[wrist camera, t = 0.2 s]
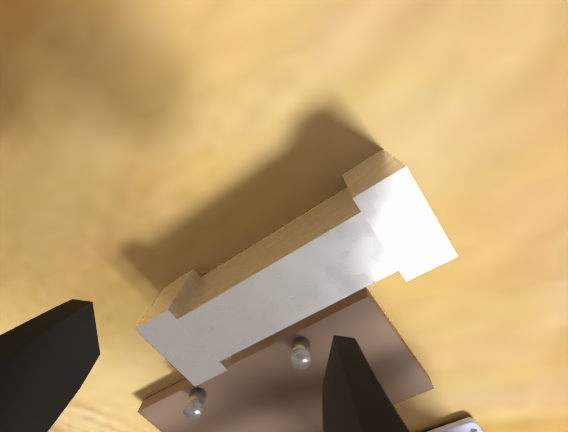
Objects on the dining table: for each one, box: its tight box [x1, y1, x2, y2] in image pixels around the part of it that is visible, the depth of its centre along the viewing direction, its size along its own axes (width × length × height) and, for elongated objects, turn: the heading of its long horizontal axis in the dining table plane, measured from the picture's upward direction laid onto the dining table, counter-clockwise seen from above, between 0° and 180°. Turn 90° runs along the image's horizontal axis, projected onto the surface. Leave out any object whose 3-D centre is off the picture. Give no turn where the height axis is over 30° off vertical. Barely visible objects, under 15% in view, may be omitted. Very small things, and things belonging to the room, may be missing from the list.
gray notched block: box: [135, 149, 457, 386], centre depth 17 cm, size 5×16×4 cm, turn 125°
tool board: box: [138, 287, 434, 432], centre depth 22 cm, size 9×20×2 cm, turn 125°
